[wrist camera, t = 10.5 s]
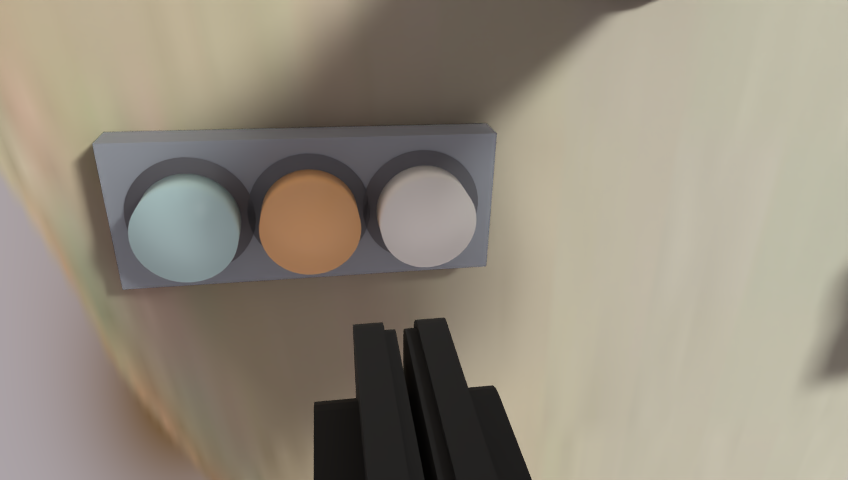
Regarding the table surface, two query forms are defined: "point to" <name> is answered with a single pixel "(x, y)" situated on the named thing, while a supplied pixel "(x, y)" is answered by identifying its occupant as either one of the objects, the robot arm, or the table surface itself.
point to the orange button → (309, 222)
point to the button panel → (280, 155)
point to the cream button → (425, 216)
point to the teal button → (185, 228)
